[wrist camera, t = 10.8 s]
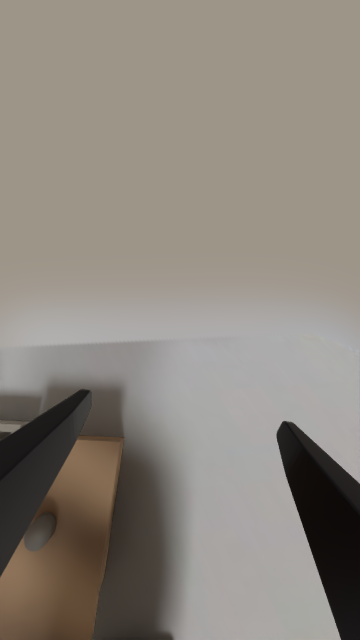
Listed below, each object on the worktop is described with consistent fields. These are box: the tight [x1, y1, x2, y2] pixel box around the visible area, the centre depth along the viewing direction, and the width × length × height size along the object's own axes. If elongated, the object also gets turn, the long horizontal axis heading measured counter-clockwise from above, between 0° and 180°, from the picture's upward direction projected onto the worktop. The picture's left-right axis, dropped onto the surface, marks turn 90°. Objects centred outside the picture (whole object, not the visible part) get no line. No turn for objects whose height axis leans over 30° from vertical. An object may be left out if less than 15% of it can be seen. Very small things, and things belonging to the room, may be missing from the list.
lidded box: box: [0, 435, 124, 640], centre depth 15 cm, size 11×9×5 cm
